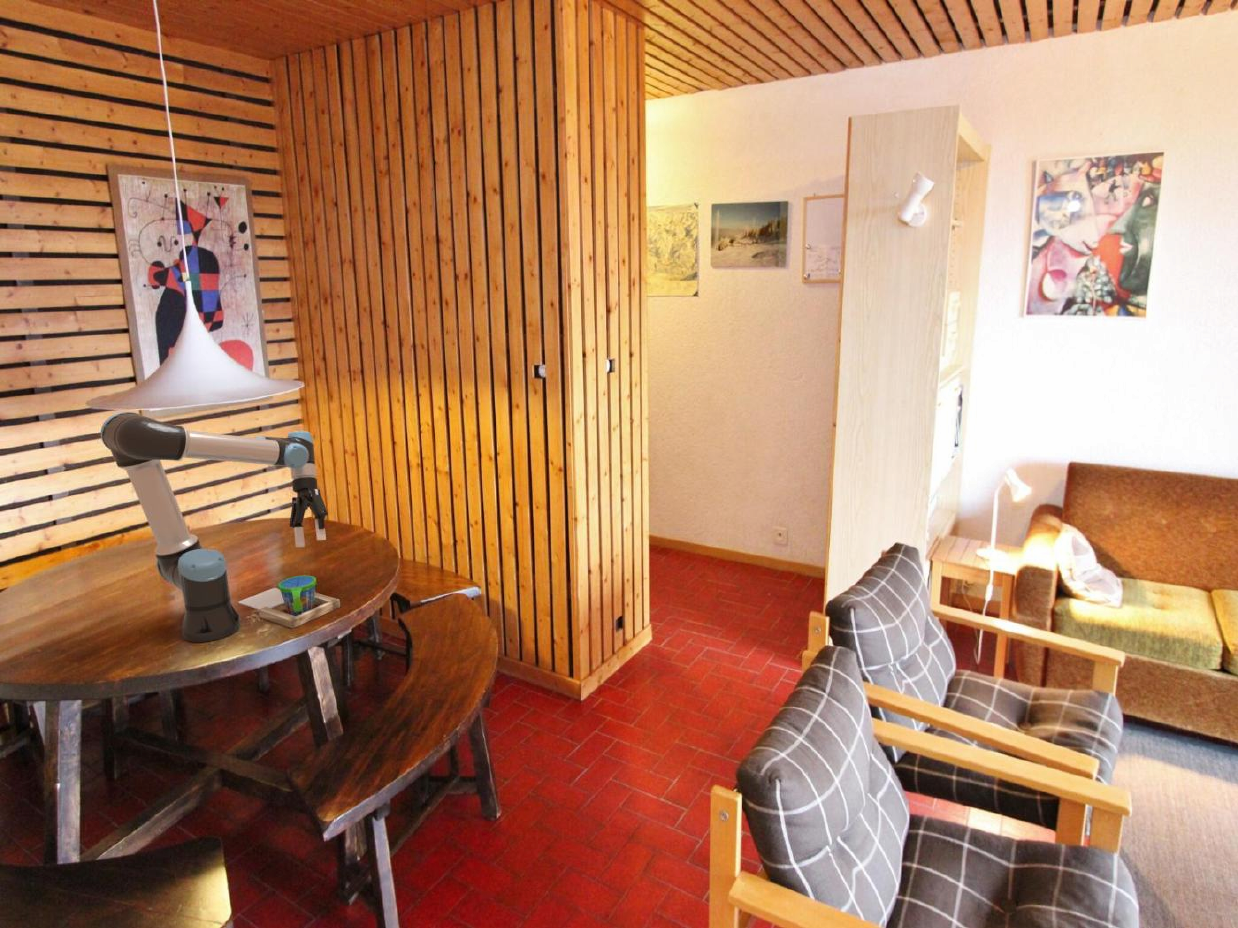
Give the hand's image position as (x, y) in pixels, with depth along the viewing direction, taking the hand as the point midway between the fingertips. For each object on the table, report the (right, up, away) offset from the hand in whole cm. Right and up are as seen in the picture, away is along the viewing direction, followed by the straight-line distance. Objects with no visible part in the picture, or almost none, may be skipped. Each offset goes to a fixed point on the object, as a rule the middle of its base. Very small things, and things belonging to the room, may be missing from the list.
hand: (310, 543), depth 240 cm
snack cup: (+1, -20, -10) cm, 23 cm away
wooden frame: (+1, -20, -10) cm, 22 cm away
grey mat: (-13, -18, -1) cm, 22 cm away
